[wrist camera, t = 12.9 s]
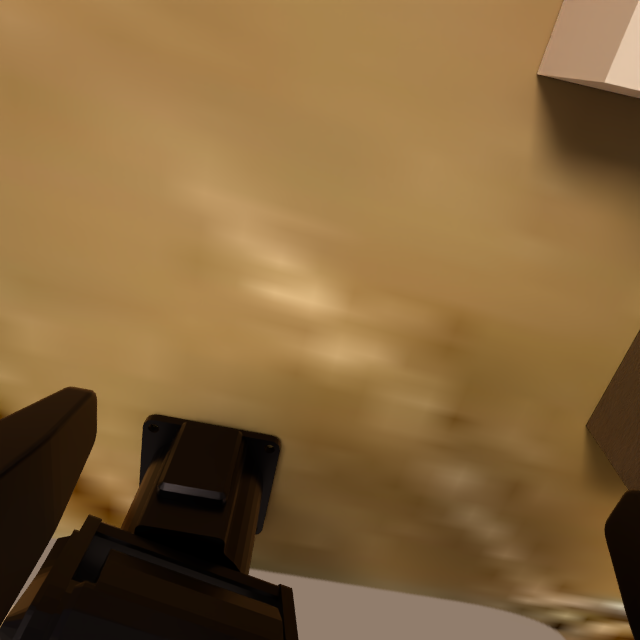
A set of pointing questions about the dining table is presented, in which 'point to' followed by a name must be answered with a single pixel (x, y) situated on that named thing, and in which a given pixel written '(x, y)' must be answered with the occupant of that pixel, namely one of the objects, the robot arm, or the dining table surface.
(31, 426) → the robot arm
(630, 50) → the white open box
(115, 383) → the dining table surface
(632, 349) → the socket block
